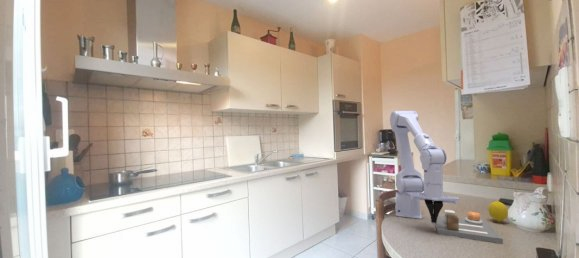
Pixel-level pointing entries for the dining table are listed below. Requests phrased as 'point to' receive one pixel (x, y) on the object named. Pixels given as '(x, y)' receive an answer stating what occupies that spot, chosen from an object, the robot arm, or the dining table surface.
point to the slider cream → (448, 213)
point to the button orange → (473, 215)
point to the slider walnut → (452, 222)
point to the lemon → (498, 211)
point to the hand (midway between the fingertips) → (433, 221)
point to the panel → (469, 230)
